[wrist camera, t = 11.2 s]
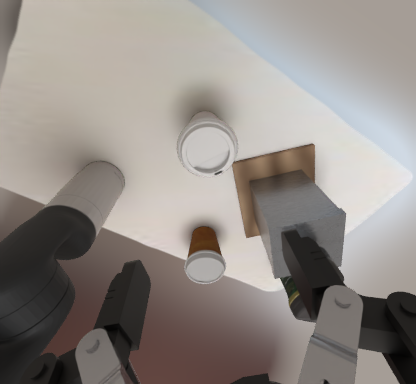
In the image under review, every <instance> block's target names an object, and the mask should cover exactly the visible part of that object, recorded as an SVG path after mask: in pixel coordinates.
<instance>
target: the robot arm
mask: <svg viewBox="0 0 416 384" xmlns="http://www.w3.org/2000/svg"><path fill="white" fill-rule="evenodd" d="M124 184H125V182H124V177H123V175H122V173H121V172H120V171H119V170H118V169H117V168H116V167H115V166H113V165H112V164H110V163H107V162H102V161H96V162H92V163H90V164H88V165H87V166H86V167H85V168H84V169H83V170H82V171H81V172H79V173H78V174H77V175H76V176H75V177H74V178H73V179H71V180H70V181H69V182H68V183H67V184H66V185H65V186H64V187H63V188H62V189H61V190H60V191H59V192H58V193H57V195H56V196H55V197H54V198H53V199H52V200H51V201H50V202H49V203H48V204H47V205H46V206H45V207H44V208H43V209H42V210H41V211H39V212H38V213H37V214H36V215H35V216H34V217H32V218H31V219H29V220H28V221H26V222H25V223H23V224H22V225H20V226H19V227H18V228H17V229H15V230H14V231H13V232H12V233H11V234H10V235H8V236H7V237H6V238H5V239H4V240H3V241H1V242H0V384H141V383H140V381H139V379H138V377H137V375H136V373H135V371H134V369H133V366H132V364H131V362H130V360H129V355H130V351H133V350H138V349H139V344H140V339H141V334H142V329H143V324H144V318H145V314H146V308H147V303H148V298H149V293H150V286H151V283H150V278H149V276H148V274H147V272H146V270H145V268H144V266H143V264H142V263H141V261H140V260H135V261H130V262H126V263H125V264H124V267H123V269H122V272H121V273H119V274H117V275H116V276H115V278H114V279H113V280H112V282H111V284H110V286H109V289H108V293H107V295H106V297H105V300H104V303H103V305H102V308H101V310H100V313H99V316H98V318H97V321H96V324H95V326H94V329H93V330H92V331H91V332H89V333H88V334H86V335H85V336H84V337H83V338H82V340H81V341H80V342H79V344H78V346H77V347H76V348H75V349H73V350H71V351H69V352H67V353H65V354H63V355H61V356H59V357H56V356H55V355H54V354H53V353H46V354H43V355H41V353H42V352H43V351H44V349H45V348H46V347H47V345H48V344H49V342H50V341H51V339H52V338H53V337H54V335H55V334H56V333H57V331H58V330H59V328H60V327H61V325H62V324H63V322H64V321H65V319H66V317H67V315H68V314H69V312H70V310H71V308H72V305H73V303H74V299H75V288H74V285H73V283H72V282H71V280H70V278H69V277H68V275H67V274H66V273H65V271H64V270H63V269H62V267H61V266H60V264H59V263H58V262H57V260H56V259H59V260H71V259H75V258H78V257H81V256H82V255H84V254H85V253H86V252H87V251H88V250H89V249H90V247H91V245H92V244H93V242H94V240H95V238H96V236H97V235H98V233H99V231H100V229H101V228H102V226H103V224H104V222H105V220H106V219H107V217H108V215H109V213H110V212H111V210H112V208H113V206H114V205H115V203H116V201H117V199H118V198H119V196H120V194H121V192H122V190H123V188H124ZM281 240H282V252H283V257H284V260H285V263H286V265H287V267H288V270H289V272H290V274H291V276H292V279H293V281H294V283H295V285H296V288H297V290H298V292H299V294H300V296H301V299H302V301H303V303H304V305H305V308H306V310H307V312H308V314H309V317H310V319H311V320H317V322H316V326H315V330H314V333H313V335H312V336H311V338H310V341H309V344H308V348H307V351H306V355H305V358H304V362H303V366H302V369H301V373H300V377H299V381H298V384H354V382H355V374H356V366H357V350H358V348H360V349H366V350H371V351H377V352H382V354H383V356H384V357H385V359H386V361H387V362H388V364H389V366H390V368H391V370H392V371H393V373H394V375H395V376H396V378H397V380H398V382H399V383H400V384H416V296H415V295H413V294H410V293H406V292H394V293H391V294H390V295H389V296H388V298H387V299H382V298H374V297H366V296H362V295H359V294H357V293H356V292H355V291H353V290H352V289H350V288H348V287H347V286H346V285H345V284H344V283H343V281H342V280H341V278H340V277H339V275H338V274H337V272H336V271H335V269H334V268H333V266H332V265H331V263H330V262H329V260H328V259H327V258H326V256H325V254H324V253H323V252H322V250H321V248H320V247H319V245H318V244H317V242H315V241H314V240H312V239H311V238H309V237H303V238H301V237H300V235H299V233H298V232H297V230H296V229H292V230H287V231H282V232H281ZM40 355H41V356H40ZM39 356H40V357H39ZM231 384H280V383H277V382H273V381H269V377H268V374H261V375H254V376H248V377H243V378H241V379H239V380H237V381H235V382H233V383H231Z"/></svg>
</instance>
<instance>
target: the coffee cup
mask: <svg viewBox="0 0 416 384" xmlns="http://www.w3.org/2000/svg"><path fill="white" fill-rule="evenodd" d="M237 152H238V141H237V138H236V135H235V133H234V131H233V130H232V128H231V127H230V126H229V125H228V124H226V123H225V122H223V121H221V120H219V119H218V117H217V116H216V115H214V114H213V113H211V112H208V111H202V112H199V113H197V114H195V115H194V116H193V117H192V119H191V120H190V122H189V124H188V125H187V126H186V127H185V128H184V129H183V130H182V132H181V133H180V135H179V138H178V141H177V153H178V157H179V159H180V161H181V163H182V165H183V166H184V167H185V168H186V169H187V170H188V171H189V172H191V173H193V174H195V175H197V176H201V177H214V176H217V175H220V174H222V173H224V172H225V171H226V170H228V169H229V168H230V166H231V165H232V164H233V162H234V161H235V158H236V156H237Z"/></svg>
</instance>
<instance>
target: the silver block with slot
mask: <svg viewBox="0 0 416 384" xmlns="http://www.w3.org/2000/svg"><path fill="white" fill-rule="evenodd" d="M249 185H250V191H251V198H252V204H253V210H254V216H255V222H256V225H257V227H258V230H259V233H260V236H261V238H262V241H263V244H264V247H265V249H266V252H267V255H268V258H269V260H270V263H271V266H272V272H273V275H274V278H275V279H276V278H281V277H287V276H291V274H290V272H289V270H288V267H287V265H286V263H285V260H284V257H283V252H282V240H281V232H282V231H287V230H292V229H296V230H297V232H298V233H299V235H300V237H301V238H303V237H309V238H311V239H312V240H314V241H315V242H317V244H318V245H319V246H320V247H323V248H324V249H325V250H326V251H327V252H328V254H329V255H330V257H331V258H332V260H333V261H334V263H335V264H336V266H337V267H339V266H341V261H342V252H343V242H344V231H345V221H346V213H345V212H344V211H343V210H342V209H341V208H340V209H339V208H338V207H337V206H336V205H335V204H334V203H333V202H332V201H331V200H330V199H329V198H328V197H327V196H326V195H325V194H324V193H323V191H322V190H321V189H320V188H319V187H318V186H317V185H316V184H315V183H314V182H313V181H312V180H311V179H310V178H309V177H308V176H307V175H306V174H305V173H304V172H303V170H302V169H300V170H295V171H291V172H287V173H282V174H278V175H273V176H269V177H264V178H260V179H255V180H251V181H249Z"/></svg>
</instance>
